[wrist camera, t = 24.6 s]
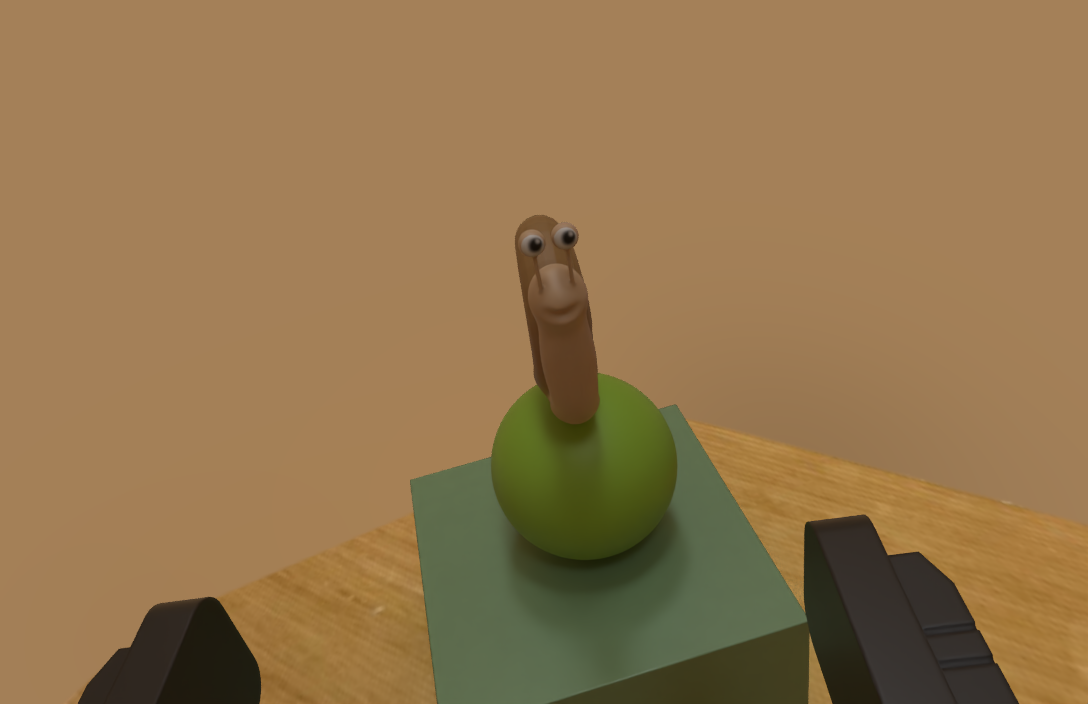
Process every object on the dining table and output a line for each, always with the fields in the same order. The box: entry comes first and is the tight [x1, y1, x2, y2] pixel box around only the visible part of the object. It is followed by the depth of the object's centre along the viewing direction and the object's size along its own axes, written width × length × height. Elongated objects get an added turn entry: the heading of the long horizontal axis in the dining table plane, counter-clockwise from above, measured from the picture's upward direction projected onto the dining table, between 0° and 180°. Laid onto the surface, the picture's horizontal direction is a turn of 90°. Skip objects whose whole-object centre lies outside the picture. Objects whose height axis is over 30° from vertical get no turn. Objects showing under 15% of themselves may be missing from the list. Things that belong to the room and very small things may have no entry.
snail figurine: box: [491, 215, 677, 560], centre depth 21 cm, size 5×6×12 cm
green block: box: [410, 405, 809, 704], centre depth 26 cm, size 10×10×5 cm
